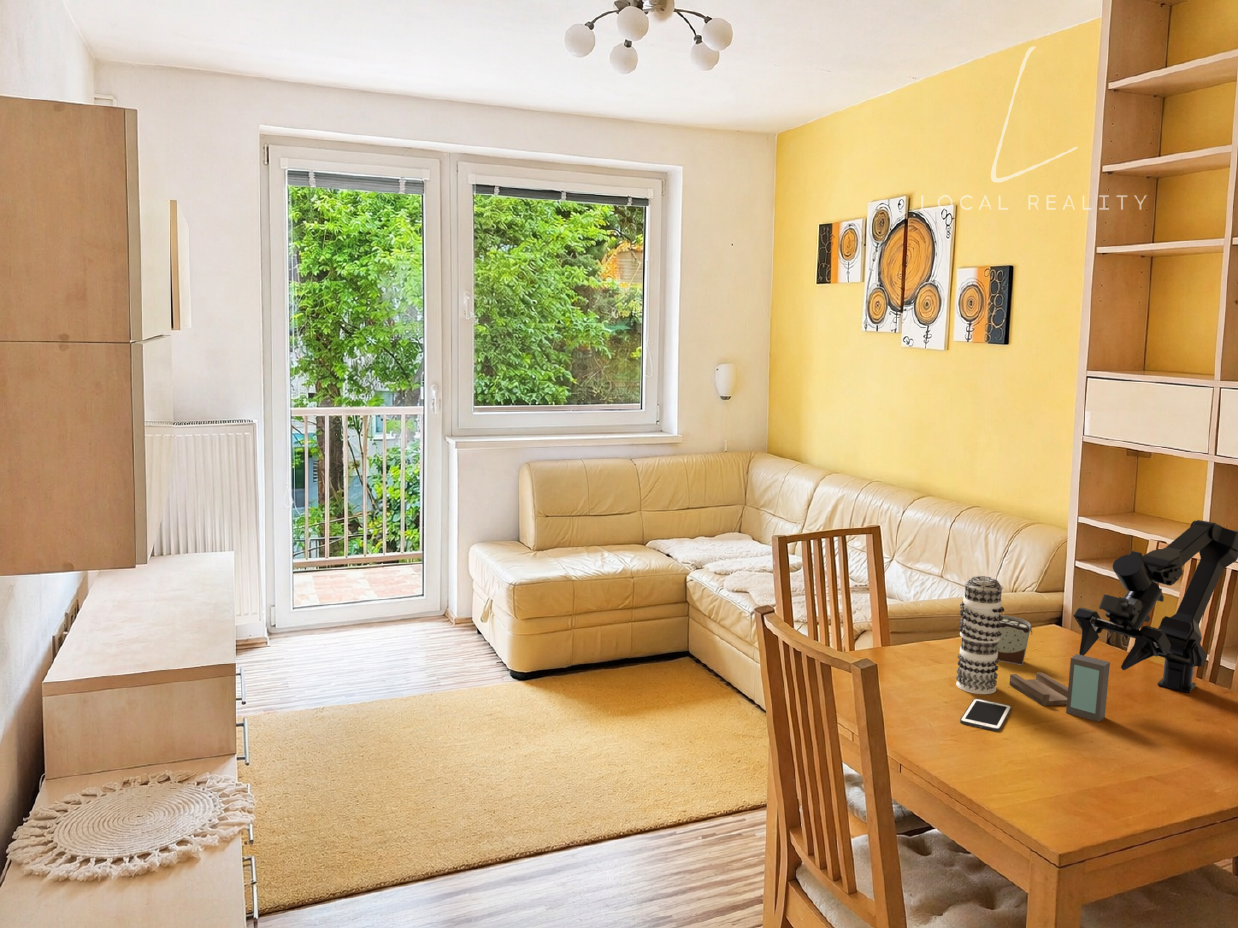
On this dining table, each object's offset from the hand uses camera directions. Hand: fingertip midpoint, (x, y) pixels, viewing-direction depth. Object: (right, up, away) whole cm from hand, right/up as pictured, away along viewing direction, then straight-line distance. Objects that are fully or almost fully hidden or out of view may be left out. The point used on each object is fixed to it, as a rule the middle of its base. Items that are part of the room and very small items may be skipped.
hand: (1101, 661), depth 195 cm
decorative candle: (-21, -9, +14) cm, 27 cm away
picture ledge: (-8, -9, +11) cm, 16 cm away
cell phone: (-25, -11, -1) cm, 27 cm away
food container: (-6, -6, +33) cm, 35 cm away
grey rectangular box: (-3, -11, 0) cm, 12 cm away
